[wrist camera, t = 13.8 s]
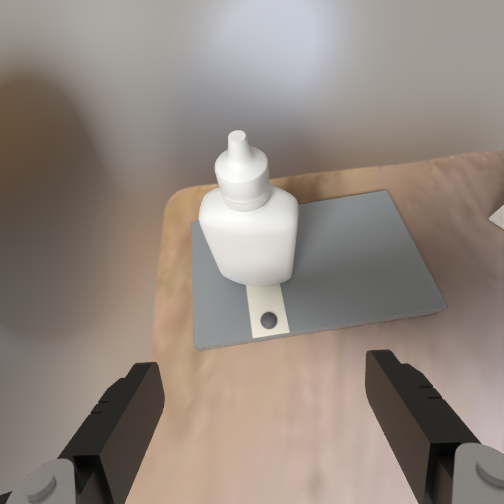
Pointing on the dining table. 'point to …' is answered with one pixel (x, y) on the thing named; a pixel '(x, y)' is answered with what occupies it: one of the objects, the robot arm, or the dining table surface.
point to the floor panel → (319, 278)
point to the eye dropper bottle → (249, 218)
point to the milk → (498, 217)
